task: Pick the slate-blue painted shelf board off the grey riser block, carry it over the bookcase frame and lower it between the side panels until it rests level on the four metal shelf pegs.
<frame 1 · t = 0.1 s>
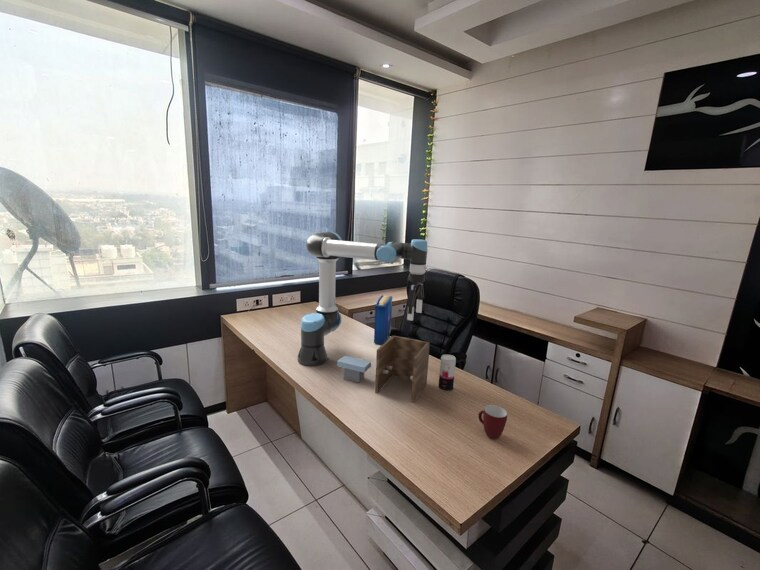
hand: (414, 316, 172), 28 cm above the table, fingers open, 13 cm apart
book: (381, 339, 218), on the table
mug: (489, 434, 130), on the table
bookcase frame: (400, 388, 159), on the table
shelf board: (354, 366, 166), point 6 cm above the table, touching riser block
beverage can: (445, 388, 162), on the table
riser block: (353, 378, 167), on the table
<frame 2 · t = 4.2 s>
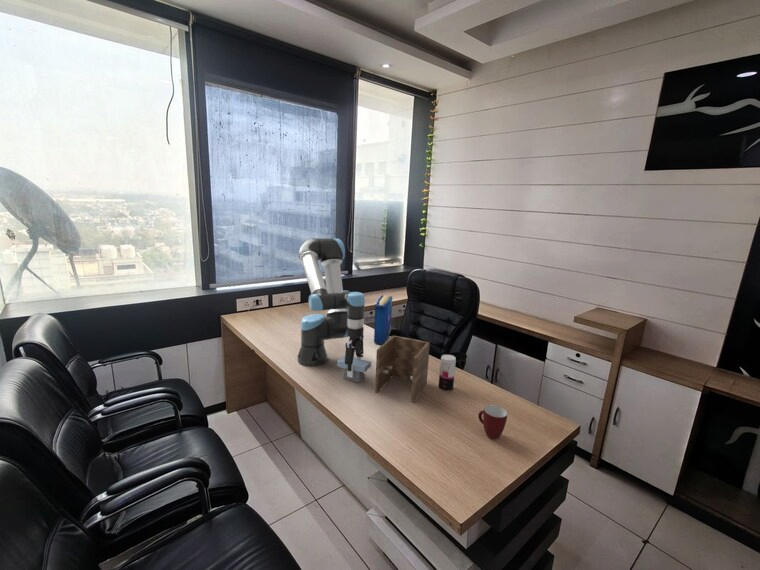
hand: (353, 373, 166), 3 cm above the table, fingers closed on shelf board, 7 cm apart
shelf board: (354, 366, 166), point 6 cm above the table, touching gripper, riser block
everything else where it was.
when the fingers open (6 cm above the table, at t = 10.2 s): shelf board stays where it is, resting on bookcase frame.
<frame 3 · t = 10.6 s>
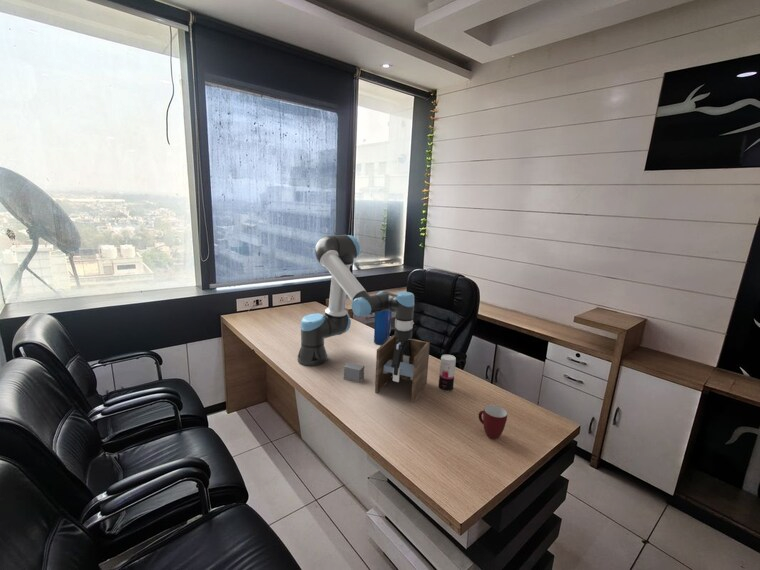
hand: (400, 375, 157), 7 cm above the table, fingers open, 12 cm apart
shelf board: (401, 371, 156), point 9 cm above the table, touching bookcase frame
everything else where it was.
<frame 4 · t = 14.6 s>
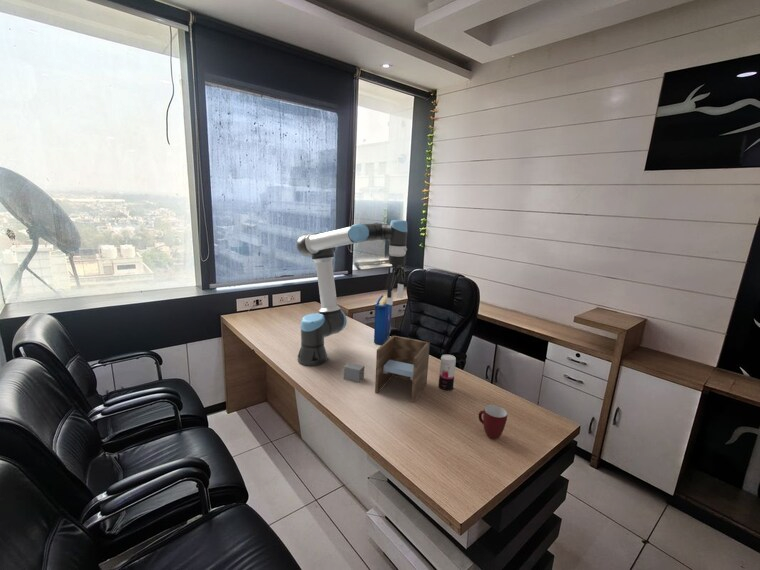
hand: (394, 301, 164), 37 cm above the table, fingers open, 13 cm apart
nothing on the table moved.
at the end: shelf board 0.0 cm from the target spot on the bookcase frame, point 9.0 cm above the bookcase frame's base; shelf board tilted 0°; the gripper is holding nothing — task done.
